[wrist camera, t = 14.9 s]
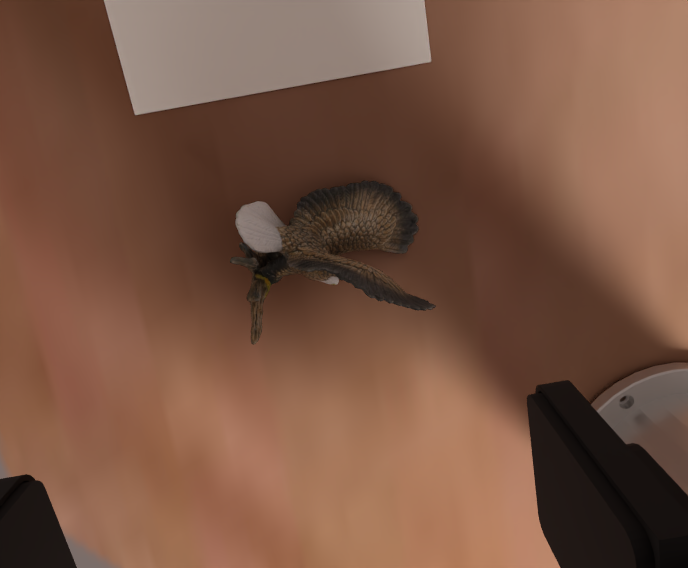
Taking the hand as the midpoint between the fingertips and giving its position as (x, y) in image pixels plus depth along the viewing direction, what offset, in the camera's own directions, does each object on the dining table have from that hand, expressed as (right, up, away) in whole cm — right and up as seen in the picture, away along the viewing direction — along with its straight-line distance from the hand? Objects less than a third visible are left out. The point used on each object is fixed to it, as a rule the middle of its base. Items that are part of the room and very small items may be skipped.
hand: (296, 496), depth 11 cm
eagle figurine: (0, +6, +20) cm, 21 cm away
